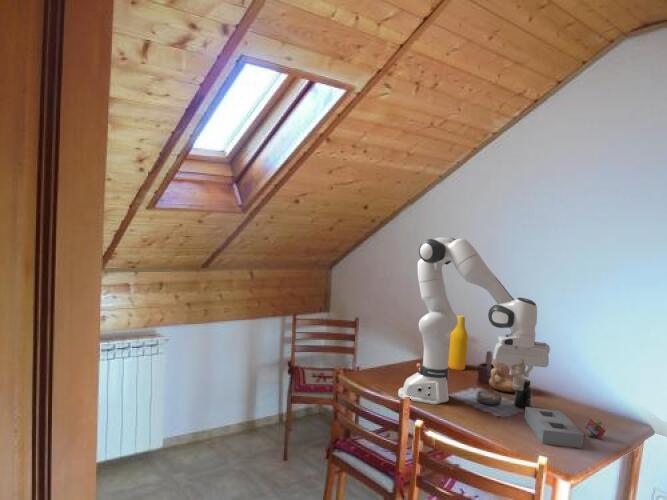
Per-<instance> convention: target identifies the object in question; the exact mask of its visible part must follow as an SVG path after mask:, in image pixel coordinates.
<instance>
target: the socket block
mask: <svg viewBox="0 0 667 500" xmlns="http://www.w3.org/2000/svg"><path fill="white" fill-rule="evenodd" d="M524 420H525V422H526V423H527V424H528V426H529V428H530V429H531V430H532V432H533V433H534V434H535V436H536V437H537V438H538V439H539V441H540V442H541V444H544V445H550V446H551V445H553V446H554V445H555V446H562V447H569V448H570V447H571V448H579V449H583V445H584V444H583V443H584V435H585V434H584V433H583V432H582V431H581V430H580V429H579V427H578V426H576V425H575V424H574V423H573V422H572V420H570V418H569V417H568V416H566V414H565V413H564V412H562V410H559V409H558V410H557V409H547V408H538V407H531V406H530V407H525V409H524Z"/></svg>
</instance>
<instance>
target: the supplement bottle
mask: <svg viewBox="0 0 667 500" xmlns="http://www.w3.org/2000/svg"><path fill="white" fill-rule="evenodd" d="M532 393H533V389H532V387H531V380H530V379H528V378H527V379H526V378H524V388H523V390H515V392H514V401H513V405H514V407H516V408H518V409H521V410H525V407H531V406H532V405H531V404H532V396H533V395H532Z"/></svg>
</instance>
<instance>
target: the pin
mask: <svg viewBox="0 0 667 500" xmlns="http://www.w3.org/2000/svg"><path fill="white" fill-rule="evenodd" d="M526 366H527V365H524V360H522V359H520V360H519V364H518V365H517V364H515V366H514V371H515V373H514V374H515V375H514V376H513V387H512V388H513V389H515V390H523V388H524V379H525V378H526V377H525V371H526Z"/></svg>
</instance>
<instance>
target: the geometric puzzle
mask: <svg viewBox="0 0 667 500" xmlns="http://www.w3.org/2000/svg"><path fill="white" fill-rule="evenodd" d="M596 421H598V420H596ZM601 424H604V423H603V421H598V422H595V421H594V419H591V418H589V419H588V420H587V421H586V424H585V429H586V430H587V431H589V432H590V434H588V432H586V433H587V436H588V438H592V439H593V436H595V437H596V438H597V439H599V440H600V441H602V438H603V436H604V434H605V433H606V430H605V428H604V427H602V426H601Z"/></svg>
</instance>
